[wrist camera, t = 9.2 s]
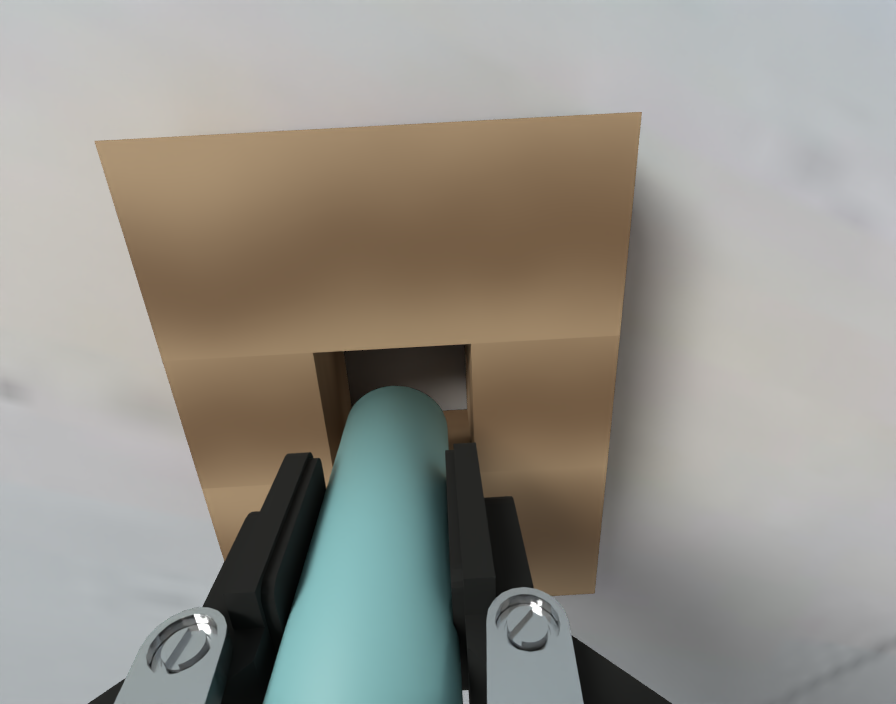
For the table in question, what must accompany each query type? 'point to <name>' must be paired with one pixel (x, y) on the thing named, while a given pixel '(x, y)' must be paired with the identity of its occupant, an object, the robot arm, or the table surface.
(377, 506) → the peg
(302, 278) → the hole block
